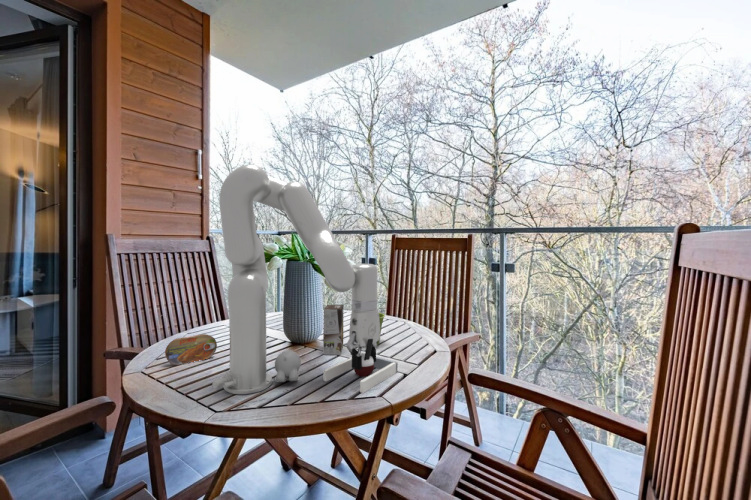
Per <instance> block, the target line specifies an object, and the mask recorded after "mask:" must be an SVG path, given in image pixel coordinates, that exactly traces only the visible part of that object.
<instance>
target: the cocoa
mask: <svg viewBox="0 0 751 500" xmlns="http://www.w3.org/2000/svg"><path fill="white" fill-rule="evenodd" d="M372 343H373V339H368V342H367V346H366V347H365V353H364V352H361V354H360V356H362V369H361V370H358V369H354V368H353V371H354V373H355V375H356V376H358V377H360V378H366V377H368V376H370V375H372V374H373V372H374V369H375V367H374V362H373V361H374V360H373V358H372V356H370V353H371V348H372Z"/></svg>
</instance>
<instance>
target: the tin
mask: <svg viewBox="0 0 751 500" xmlns="http://www.w3.org/2000/svg"><path fill="white" fill-rule="evenodd" d="M217 348H218V343H217V340H216V339H215V338H214V336H212V335H210V334H205V333H201V334H197V335H196V334H195V335H190V336H185V337H179V338H175V339H173V340H172V341H170V342H169V343H168V345H167V346H166V347H165V351H164V355H165V358H166V360H167V361H168V363H169V364H172V365H174V366H178V365H177V364H181V363H187V362H193V363H195V362H194V361H198V362H200V361H199V360H202V361H206V360H208V359H210V358H211V357H213V356H214V354H215V353H216V351H217ZM205 359H206V360H205Z"/></svg>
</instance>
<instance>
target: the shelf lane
mask: <svg viewBox="0 0 751 500" xmlns="http://www.w3.org/2000/svg"><path fill="white" fill-rule="evenodd" d="M398 365H399V364H398V362H397V361H394V360H389V359H386V358H381V357H377V356H376V362H374V369H379V370H377V371H376V372H374V373H373V372H372V374H371V375H370V376H368V377H364V378H363V379H361V380H360V381H359V392H360V393H362V394H365V392H367V391H369V390H371V389H372V388H374V387H376V386H377V385H378V384H381V383H382V382H383V381H385V380H387V379H388V378H390V377H391V376H393V375H394V374H397V373H398ZM352 369H353V368H352V357H350V358H347V359H345V360H343V361H341V362H339V363H336V364H334V365H332V366H330V367H328V368H325V369H323V374H322V375H323V376H322V377H323V378H322V380H323V381H324V382H328V381H330V380H332V379H334V378H336V377H338V376H340V375H342V374H344V373H346V372H348V371H350V370H352Z"/></svg>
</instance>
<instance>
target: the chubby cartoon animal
mask: <svg viewBox="0 0 751 500" xmlns="http://www.w3.org/2000/svg"><path fill="white" fill-rule="evenodd" d="M301 361H302V360H301V358H300V356H299V354H298V353H297V352H296V351H294V350H283V351H282V352H280V353H279V354H278V355H277V356H276V358H275V360H274V369H275V371H276V375H275V382H277V383H285V382H286V381H288V382H297V381H298V380H299V370H300V369H301V364H302V362H301Z"/></svg>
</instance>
